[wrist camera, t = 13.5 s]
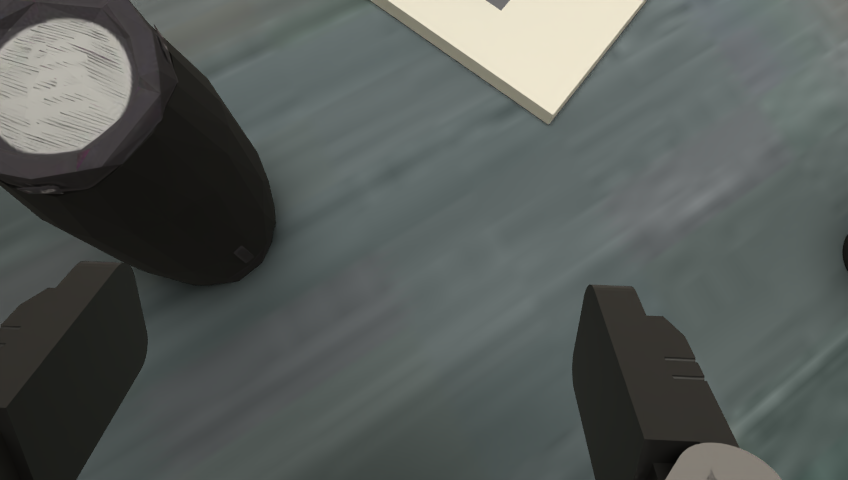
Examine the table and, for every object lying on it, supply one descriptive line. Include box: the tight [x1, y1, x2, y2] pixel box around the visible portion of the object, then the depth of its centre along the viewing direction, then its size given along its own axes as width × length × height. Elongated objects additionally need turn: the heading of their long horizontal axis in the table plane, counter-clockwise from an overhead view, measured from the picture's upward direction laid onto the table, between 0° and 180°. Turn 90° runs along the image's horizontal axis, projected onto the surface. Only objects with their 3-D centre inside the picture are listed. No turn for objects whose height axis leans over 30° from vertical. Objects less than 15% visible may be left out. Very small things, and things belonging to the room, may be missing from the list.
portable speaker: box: [0, 0, 276, 285], centre depth 32 cm, size 9×9×20 cm
